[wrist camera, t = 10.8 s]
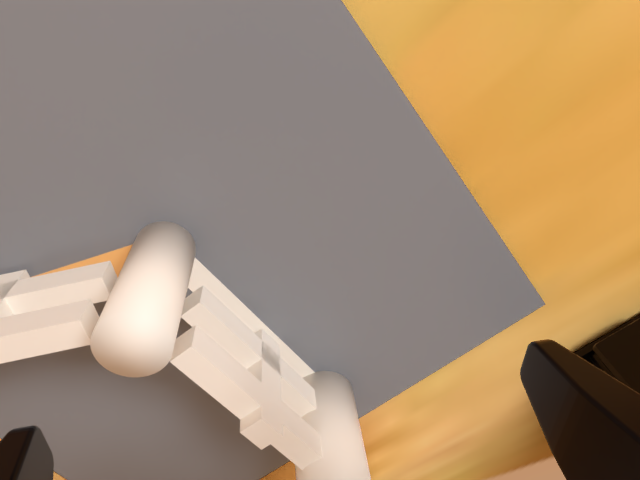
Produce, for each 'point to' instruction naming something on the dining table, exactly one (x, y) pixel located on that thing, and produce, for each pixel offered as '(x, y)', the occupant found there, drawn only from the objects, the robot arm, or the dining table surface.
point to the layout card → (232, 214)
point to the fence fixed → (225, 359)
